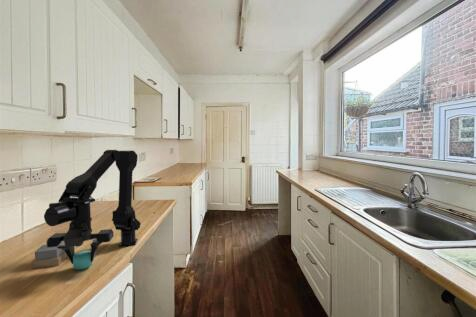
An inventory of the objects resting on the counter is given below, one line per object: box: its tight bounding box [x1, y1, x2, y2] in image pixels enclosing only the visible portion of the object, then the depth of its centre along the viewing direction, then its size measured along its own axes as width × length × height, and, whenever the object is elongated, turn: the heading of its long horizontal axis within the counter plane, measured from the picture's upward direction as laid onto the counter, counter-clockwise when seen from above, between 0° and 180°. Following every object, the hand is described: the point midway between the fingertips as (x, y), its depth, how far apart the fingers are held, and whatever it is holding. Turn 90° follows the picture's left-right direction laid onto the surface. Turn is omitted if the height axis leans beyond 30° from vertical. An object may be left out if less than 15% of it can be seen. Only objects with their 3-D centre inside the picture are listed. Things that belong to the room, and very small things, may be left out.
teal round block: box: [72, 250, 93, 270], centre depth 86 cm, size 6×6×4 cm
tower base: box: [31, 251, 69, 269], centre depth 91 cm, size 8×8×3 cm
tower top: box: [34, 244, 64, 260], centre depth 91 cm, size 6×6×3 cm
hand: (82, 262), depth 87 cm, fingers closed on teal round block, 5 cm apart
